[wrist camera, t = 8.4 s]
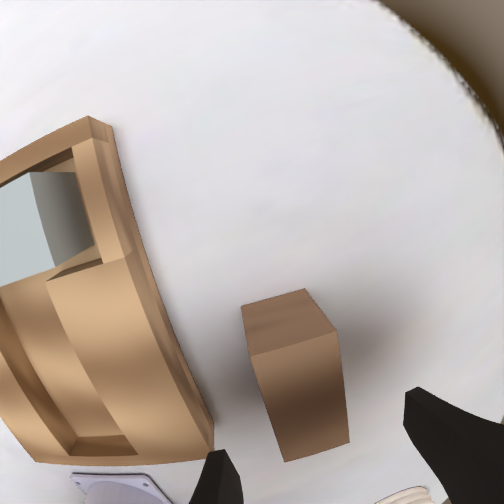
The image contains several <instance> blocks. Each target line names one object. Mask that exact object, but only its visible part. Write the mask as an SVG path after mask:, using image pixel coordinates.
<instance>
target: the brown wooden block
mask: <svg viewBox="0 0 504 504" xmlns="http://www.w3.org/2000/svg"><path fill="white" fill-rule="evenodd" d="M241 310H242V316H243V322H244V327H245V333H246V339H247V345H248V350H249V356H250V359H251V363H252V366H253V369H254V372H255V375H256V378H257V381H258V385H259V388H260V391H261V394H262V397H263V400H264V403H265V406H266V409H267V412H268V415H269V418H270V421H271V424H272V427H273V430H274V433H275V436H276V439H277V442H278V445H279V448H280V451H281V454H282V457H283V459H284V462H289V461H293V460H296V459H300V458H303V457H307V456H310V455H314V454H317V453H320V452H323V451H326V450H329V449H332V448H335V447H338V446H341V445H344V444H347V443H350V441H349V429H348V418H347V408H346V398H345V389H344V381H343V373H342V365H341V357H340V350H339V342H338V335H337V331H336V329H335V328H334V327H333V325H332V324H331V323H330V321H329V320H328V319H327V317H326V316H325V315H324V313H323V312H322V311H321V309H320V308H319V307H318V305H317V304H316V303H315V301H314V300H313V299H312V297H311V296H310V295H309V293H308V292H307V291H306V290H305V288H304V289H301V290H297V291H294V292H290V293H287V294H283V295H280V296H276V297H272V298H269V299H265V300H262V301H258V302H254V303H250V304H247V305H243V306H241Z"/></svg>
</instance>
